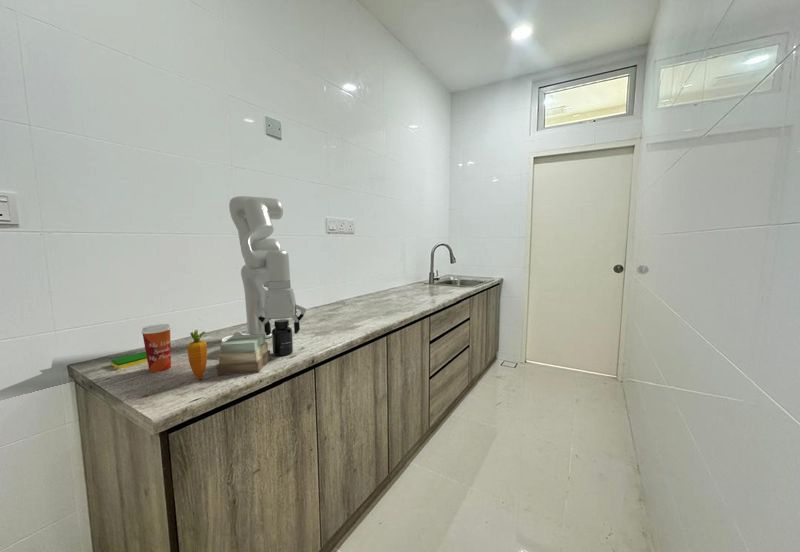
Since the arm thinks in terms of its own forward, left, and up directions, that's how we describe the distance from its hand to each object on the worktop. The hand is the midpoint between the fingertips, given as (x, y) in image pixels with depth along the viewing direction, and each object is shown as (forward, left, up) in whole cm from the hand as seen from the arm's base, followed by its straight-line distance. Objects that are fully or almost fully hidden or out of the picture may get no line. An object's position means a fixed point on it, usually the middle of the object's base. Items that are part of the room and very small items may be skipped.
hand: (282, 333), depth 115 cm
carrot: (+19, -19, -8) cm, 28 cm away
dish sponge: (-1, -48, -8) cm, 49 cm away
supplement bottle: (-1, 0, -8) cm, 8 cm away
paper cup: (+8, -36, -8) cm, 38 cm away
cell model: (-7, -18, -8) cm, 21 cm away
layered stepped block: (+10, -9, -7) cm, 16 cm away
